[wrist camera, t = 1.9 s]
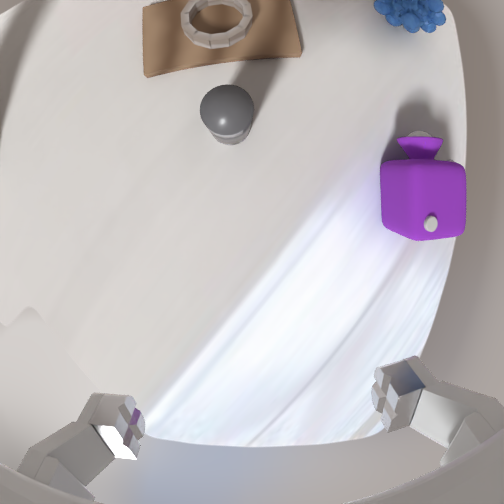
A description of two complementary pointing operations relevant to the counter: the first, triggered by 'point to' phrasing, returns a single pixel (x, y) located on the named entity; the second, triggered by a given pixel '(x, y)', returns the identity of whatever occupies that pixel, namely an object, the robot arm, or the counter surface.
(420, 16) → the blue lumpy cluster
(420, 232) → the toy camera
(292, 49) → the mount
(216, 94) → the grey rounded cylinder
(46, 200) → the counter surface
